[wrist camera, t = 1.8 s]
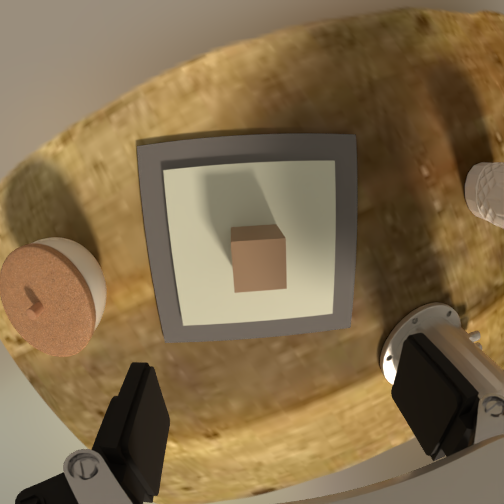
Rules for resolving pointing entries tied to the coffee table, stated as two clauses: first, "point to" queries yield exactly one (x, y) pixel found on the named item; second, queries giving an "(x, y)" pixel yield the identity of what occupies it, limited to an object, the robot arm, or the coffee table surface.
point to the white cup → (486, 192)
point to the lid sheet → (252, 205)
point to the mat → (248, 151)
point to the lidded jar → (53, 294)
